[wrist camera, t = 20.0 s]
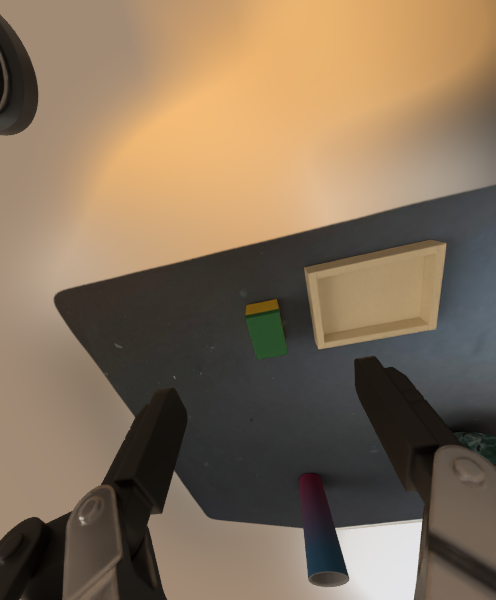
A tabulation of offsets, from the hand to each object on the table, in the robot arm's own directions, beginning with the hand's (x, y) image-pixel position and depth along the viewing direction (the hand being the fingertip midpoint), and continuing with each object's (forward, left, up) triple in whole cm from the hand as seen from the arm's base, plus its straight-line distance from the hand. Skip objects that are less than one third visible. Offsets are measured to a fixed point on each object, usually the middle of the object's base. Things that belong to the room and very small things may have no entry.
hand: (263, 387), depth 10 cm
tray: (+16, +5, -22) cm, 28 cm away
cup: (+41, -34, -23) cm, 58 cm away
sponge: (+7, -7, -22) cm, 25 cm away
